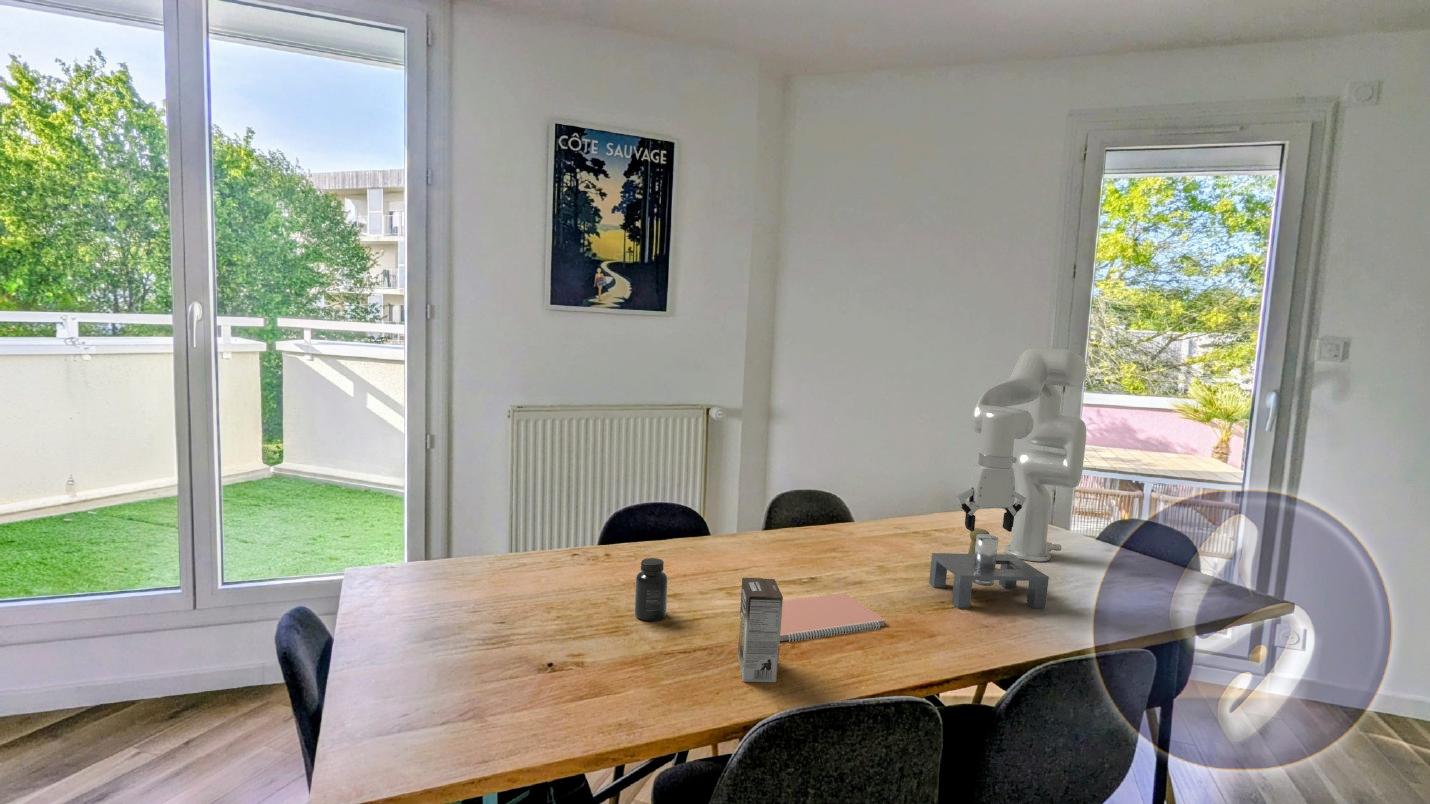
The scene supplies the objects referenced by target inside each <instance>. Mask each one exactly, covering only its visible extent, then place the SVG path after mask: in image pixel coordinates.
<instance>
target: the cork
mask: <svg viewBox="0 0 1430 804" xmlns="http://www.w3.org/2000/svg"><path fill="white" fill-rule="evenodd" d="M977 534H989V535H991V534H990V532H989V531H988V530H987V529H984V528H977V527H976V528H974V531H969V538H970V540H971V542H970V545H969V549H968V553H967V554H975V546H976V536H977Z"/></svg>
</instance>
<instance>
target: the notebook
mask: <svg viewBox="0 0 1430 804" xmlns="http://www.w3.org/2000/svg"><path fill="white" fill-rule="evenodd" d="M885 622H887V620H886V619H885V618H883V617H882V616H880V615H879V614H877V613H875V612H874V611H872V610H871V609H869V608H868V607H866V606H865V605H863V604H862V603H861V602H858V600H856V599H854V598H853V597H851V596H849V595H848V594H846V593H837V594H831V595H821V596H814V597H813V596H812V597H806V598H799V599H798V598H797V599H790V600H788V599H787V600H783V604H782V618H781V631H780V642H782V641H783V642H784V641H788V643H791V642H792V643H794V642H797V640H798V642H800V641H803V640H804V641H808V640H809V638H810V640H814V639H820V638H823V637H824V638H826V637H832V636H834V637H835V636H838V635H839V636H841V634H842V635H844V634H845V635H846V634H852V633H855V632H856V633H858V632H859V633H860V632H866V631H867V632H868V631H871V630H873V631H874V630H879V629H880V627H882V626H885ZM858 630H859V631H858ZM844 632H845V633H844ZM812 637H813V639H812ZM803 638H804V639H803ZM791 640H792V641H791ZM794 640H795V641H794Z"/></svg>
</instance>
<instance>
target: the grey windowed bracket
mask: <svg viewBox="0 0 1430 804" xmlns="http://www.w3.org/2000/svg"><path fill="white" fill-rule="evenodd" d="M974 556H975V554H968V553H954V552H953V553H949V552H947V553H946V552H944V553H943V552H941V553H940V552H938V553H937V552H932V553H931V558H930V559H931V560H930V568H929V569H930V571H929V581H928V583H929V585H931V586H932V588H934V589H937V588H938V589H939V588H941V589H942V588H943V589H944V588H945V589H946V584H947V574H948V571H949V572H950V573H951V574H952V575H954V576H953V577H954V578H953V587H952V598H951V605H953V606H954V607H955V606H956V607H957V608H956V607H955V608H956V609H959V610H960V608H961V609H962V610H963V609H965V610H967V609H969V610H970V608H971V597H972V588H973V581H972V580H994V581H998V585H999V586H1001V587H1002V588H1004V589H1005V590H1007V589H1009V590H1010V589H1011V590H1012V589H1013V590H1016V589H1017V582H1018V581H1020V582H1021V581H1022V582H1023V581H1026V582H1027V581H1028V587H1027V593H1026V594H1027V595H1026V606H1028V607H1029V608H1031V609H1033V610H1046V604H1047V598H1048V596H1047V595H1048V589H1049V586H1048V585H1049V579H1050V578H1049V576H1048V575H1047V574H1045V573H1043V572H1042V571H1040V570H1038V569H1037V568H1035V567H1034V566H1032V565H1031V564H1028V563H1027V562H1026V561H1025V560H1023V559H1019V558H1018V557H1016V556H1014V555H1008V554H1007V553H1006V554H1005V553H1004V554H1003V553H1002V554H1000V553H997V557H996V565H1000V568H999V569H998V568H997V567H996V566H995V567H994V568H984V567H980V566H977V565H975V564H974Z"/></svg>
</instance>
